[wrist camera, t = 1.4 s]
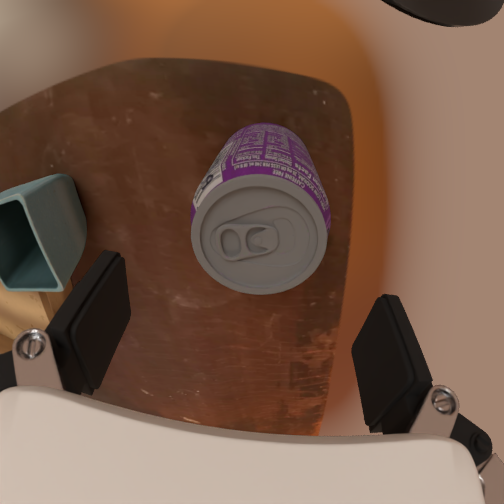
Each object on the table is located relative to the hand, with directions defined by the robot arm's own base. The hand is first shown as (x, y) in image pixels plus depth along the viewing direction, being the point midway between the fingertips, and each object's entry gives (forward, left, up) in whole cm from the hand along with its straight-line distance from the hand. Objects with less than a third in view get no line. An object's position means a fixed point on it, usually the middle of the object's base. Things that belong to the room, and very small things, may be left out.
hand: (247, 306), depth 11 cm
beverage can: (0, 0, -16) cm, 16 cm away
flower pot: (+6, -19, -16) cm, 26 cm away
